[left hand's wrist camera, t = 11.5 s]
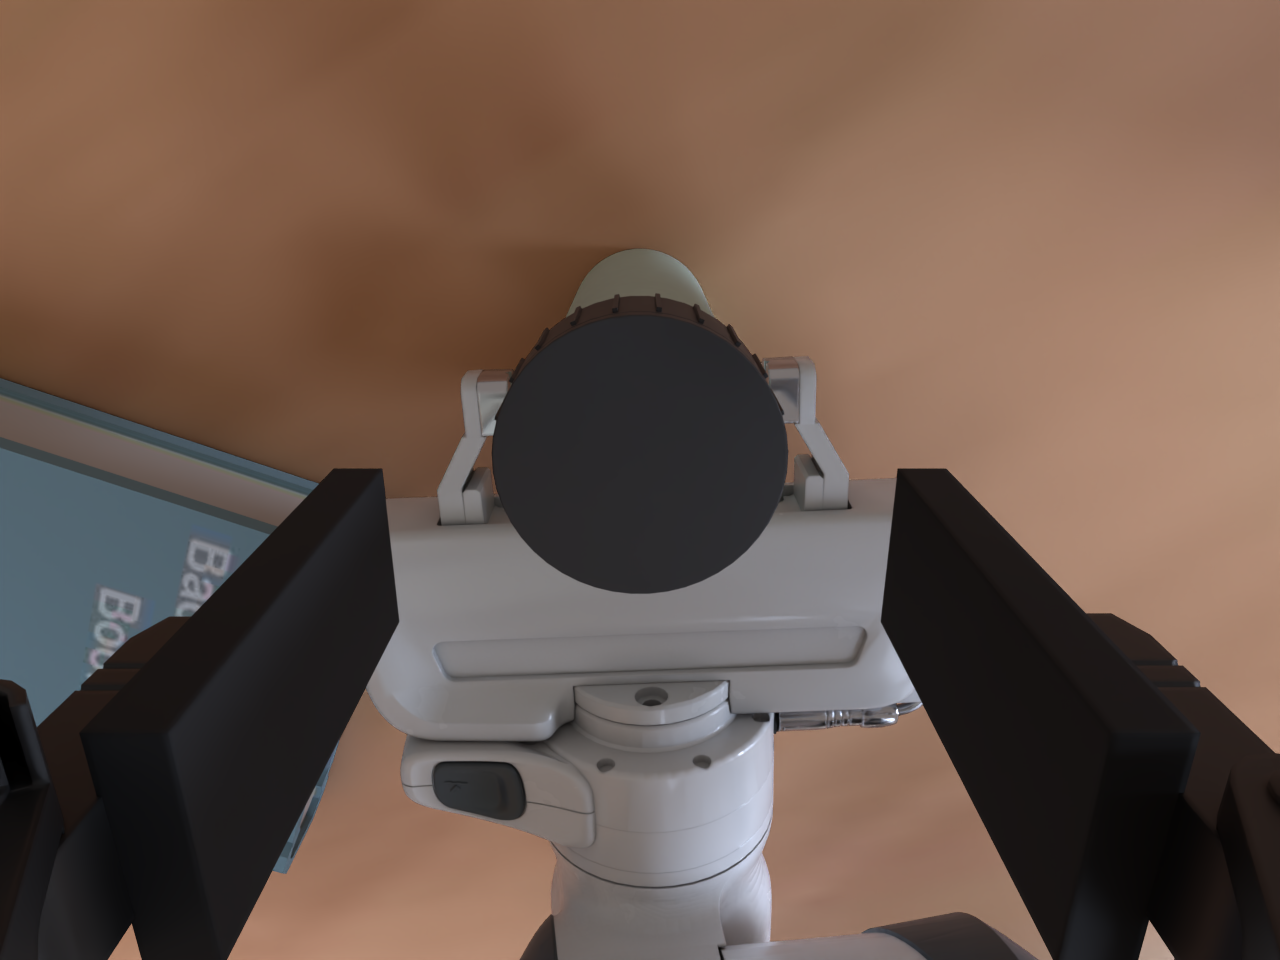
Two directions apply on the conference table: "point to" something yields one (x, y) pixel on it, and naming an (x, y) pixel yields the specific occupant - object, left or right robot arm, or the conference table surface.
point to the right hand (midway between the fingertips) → (637, 366)
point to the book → (117, 541)
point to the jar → (640, 280)
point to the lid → (639, 446)
